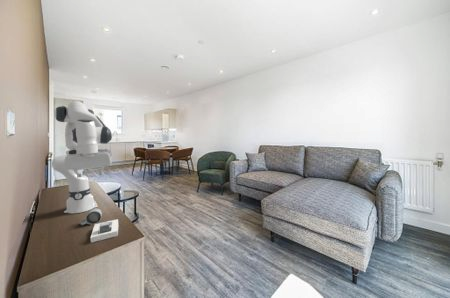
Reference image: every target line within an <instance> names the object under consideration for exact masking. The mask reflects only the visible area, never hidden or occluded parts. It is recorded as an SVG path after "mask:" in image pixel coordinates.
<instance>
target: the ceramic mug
mask: <svg viewBox="0 0 450 298" xmlns="http://www.w3.org/2000/svg"><path fill="white" fill-rule="evenodd" d="M87 212H88V213H87V214H86V216H85V217H84V219H83V220H81V221H80V222H79V224H80V225H81V226H84V225H86V224H87V225H91V226H92V225H95V224H98V223H100V222H101V220H102V215H103V212H102V210H101V209H99V208H93V209H90V210H88V211H87Z"/></svg>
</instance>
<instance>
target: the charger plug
mask: <svg viewBox="0 0 450 298" xmlns="http://www.w3.org/2000/svg"><path fill="white" fill-rule="evenodd" d="M100 223H101V224H100V227H99V228H100V234H101V233H105V232H110V222H107V221H104V223H103V222H100Z"/></svg>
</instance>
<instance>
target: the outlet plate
mask: <svg viewBox="0 0 450 298" xmlns="http://www.w3.org/2000/svg"><path fill="white" fill-rule="evenodd" d="M104 222H105V221H104ZM104 222H98V223H97V224H94V226H93V229H92V232H91V235H90V243H95V242H99V241H104V240H108V239H111V238H115V237H118V236H119V219H112V220H107V221H106V222H110V232H105V233H101V234H100V228H99V227H100V224H101V223H104Z"/></svg>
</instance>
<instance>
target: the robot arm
mask: <svg viewBox="0 0 450 298" xmlns="http://www.w3.org/2000/svg"><path fill="white" fill-rule="evenodd" d="M53 116H54V118H55V120H56V121H57V122H60V123H66V125H65V132H64V137H65V138H64V139H65V140H64V141H65V147H66V148H67V149H68V150H66V151H65V154H63V155H58V156H54V158H53V159H52V161H51V167H52V169H53V170H54V171H55V172H58V173H60V174H61V175H63V177H65V179H66V181H67V183H68V198H67V200H66V210H64V211H63V213H65V214H79V213H83V212H89V211H90V210H92V209H96V208H98V203H97V202H96V200H95V199H94V196H93V195H92V193H91V191H92V190H91V188H90V181H89V180H90V178H89V177H88V176H86V175H85V174H82V173H79V172H78V171H82V170H90V169H94V168H98V167H99V168H100V169H101V171H98V175H99V176H101V175H102V176H103V174H104V173H103V171H104V170H105V167H110V166H111V165H112V158H111V157H112V151H111V150H110V149H108V148H104V149H102V148H101V149H99V146H98V145H99V144H105V145H106V144H108V143H109V142H111V141H112V138H113V135H112V131H111V129H110V128H109V127H107V126H106V124H105V123H104V122H103V121H102V120H101V118H100V117H98V115H96V114H95V112H94V111H93V110H92V109H89V108H88V107H87V105H85V104H84V103H83V102H81V101H79V100H74V101H73V100H72V101H71V102H69V103H68V105H67V106H64V105H61V106H57V107H55V109H54V112H53Z"/></svg>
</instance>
